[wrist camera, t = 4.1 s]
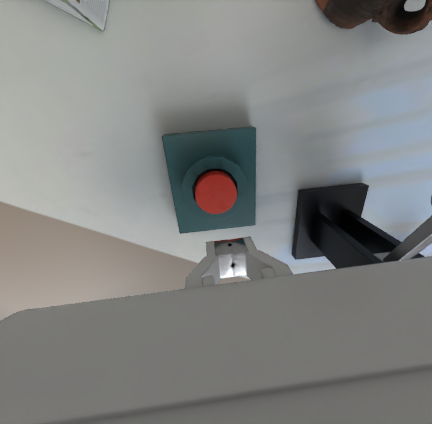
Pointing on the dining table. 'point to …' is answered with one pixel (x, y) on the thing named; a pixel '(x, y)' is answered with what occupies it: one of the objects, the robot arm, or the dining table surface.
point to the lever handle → (410, 244)
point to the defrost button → (215, 192)
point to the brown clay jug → (377, 14)
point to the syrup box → (85, 10)
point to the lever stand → (338, 227)
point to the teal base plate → (212, 161)
